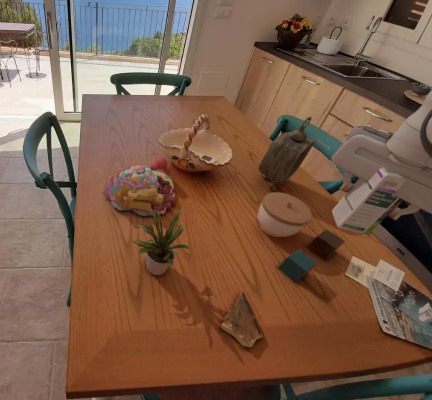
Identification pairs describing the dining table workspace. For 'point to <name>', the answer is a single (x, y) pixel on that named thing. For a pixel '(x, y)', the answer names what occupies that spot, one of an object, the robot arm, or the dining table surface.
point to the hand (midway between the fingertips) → (367, 203)
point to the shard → (242, 323)
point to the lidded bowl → (283, 214)
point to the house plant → (161, 245)
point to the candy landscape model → (143, 189)
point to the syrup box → (369, 202)
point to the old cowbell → (286, 155)
